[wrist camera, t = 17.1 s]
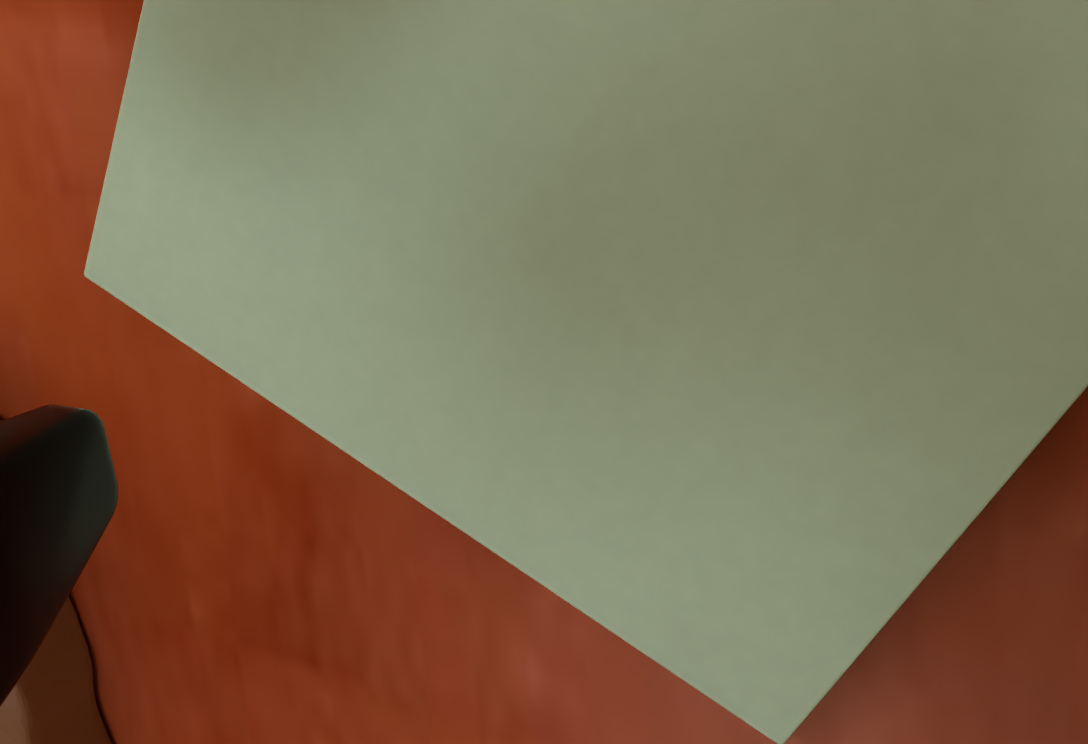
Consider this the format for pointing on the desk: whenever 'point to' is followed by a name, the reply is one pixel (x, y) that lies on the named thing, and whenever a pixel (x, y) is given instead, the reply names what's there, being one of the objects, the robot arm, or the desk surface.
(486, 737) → the desk surface
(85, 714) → the plant
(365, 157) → the desk mat
